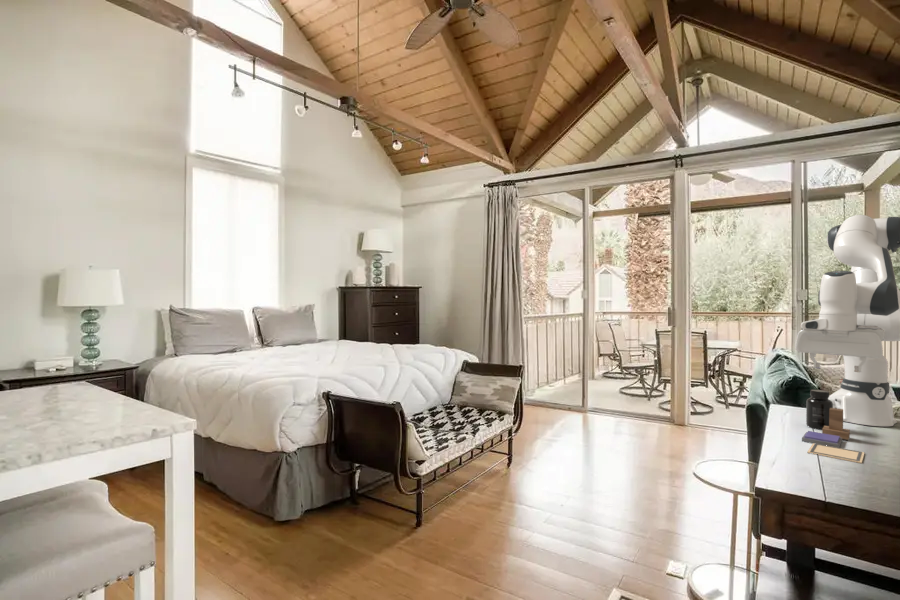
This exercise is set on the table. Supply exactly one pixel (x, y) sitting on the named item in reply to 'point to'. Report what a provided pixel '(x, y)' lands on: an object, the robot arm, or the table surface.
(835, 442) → the ink pad
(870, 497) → the table surface
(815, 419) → the supplement bottle
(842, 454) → the marked card
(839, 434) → the stamp
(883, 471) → the table surface
